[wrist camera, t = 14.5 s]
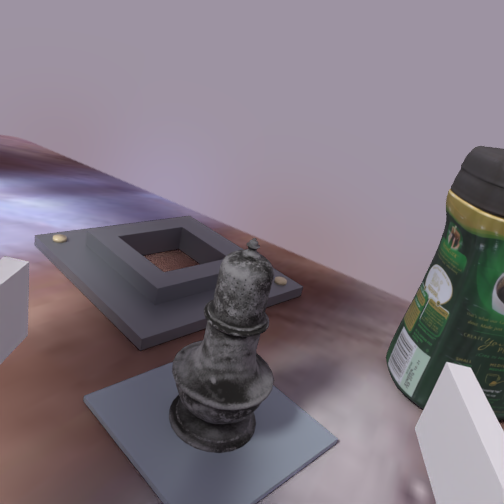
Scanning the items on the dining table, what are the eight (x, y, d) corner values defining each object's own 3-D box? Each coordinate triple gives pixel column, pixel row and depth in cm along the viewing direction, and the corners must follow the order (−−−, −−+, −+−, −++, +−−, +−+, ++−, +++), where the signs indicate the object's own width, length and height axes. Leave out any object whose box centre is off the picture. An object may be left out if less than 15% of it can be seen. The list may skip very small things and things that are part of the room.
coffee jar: (475, 363, 42) (576, 156, 34) (528, 432, 35) (670, 189, 27) (370, 348, 40) (452, 129, 33) (403, 417, 33) (517, 157, 26)
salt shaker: (218, 373, 33) (256, 210, 28) (279, 429, 29) (335, 254, 24) (144, 404, 29) (172, 221, 24) (205, 475, 25) (253, 276, 20)
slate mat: (83, 401, 28) (83, 395, 28) (221, 347, 36) (222, 342, 36) (197, 547, 22) (198, 541, 22) (336, 443, 30) (337, 438, 29)
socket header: (34, 245, 44) (35, 220, 43) (188, 223, 57) (191, 204, 56) (140, 350, 34) (144, 321, 33) (300, 295, 46) (307, 273, 45)
